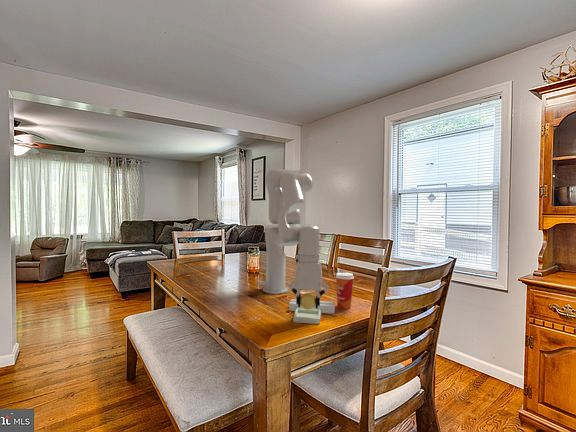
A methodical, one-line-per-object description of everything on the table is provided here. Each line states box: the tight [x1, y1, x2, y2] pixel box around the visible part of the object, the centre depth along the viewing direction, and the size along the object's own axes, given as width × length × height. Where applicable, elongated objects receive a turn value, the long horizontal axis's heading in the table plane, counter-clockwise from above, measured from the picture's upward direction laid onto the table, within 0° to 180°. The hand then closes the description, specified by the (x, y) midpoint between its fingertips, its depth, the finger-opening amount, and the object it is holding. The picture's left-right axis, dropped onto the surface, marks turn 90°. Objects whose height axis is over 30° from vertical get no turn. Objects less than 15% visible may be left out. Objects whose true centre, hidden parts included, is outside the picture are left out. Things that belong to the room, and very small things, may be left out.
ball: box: [300, 292, 316, 310], centre depth 112 cm, size 6×6×6 cm
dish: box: [292, 308, 322, 325], centre depth 113 cm, size 10×10×2 cm
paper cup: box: [335, 272, 355, 310], centre depth 126 cm, size 8×8×14 cm
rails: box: [288, 298, 336, 315], centre depth 122 cm, size 18×5×3 cm, turn 81°
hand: (308, 306), depth 112 cm, fingers closed on ball, 5 cm apart
